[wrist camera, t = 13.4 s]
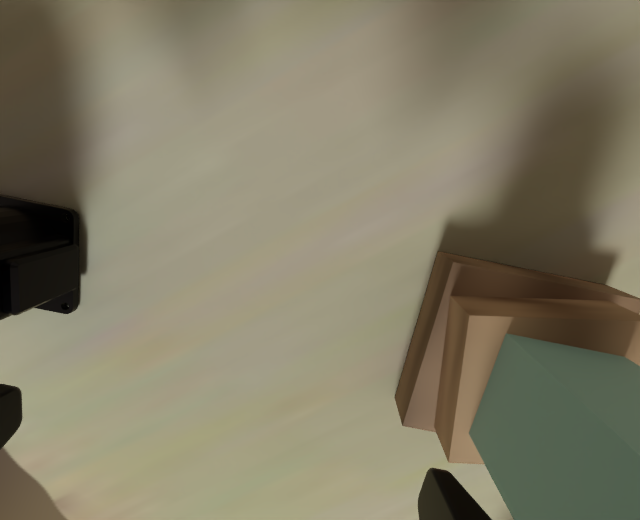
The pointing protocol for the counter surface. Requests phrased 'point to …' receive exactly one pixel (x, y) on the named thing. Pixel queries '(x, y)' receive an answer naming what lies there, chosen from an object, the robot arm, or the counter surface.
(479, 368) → the top coaster
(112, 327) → the counter surface
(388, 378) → the counter surface
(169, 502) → the counter surface
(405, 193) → the counter surface
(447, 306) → the base plinth
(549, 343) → the teal block
